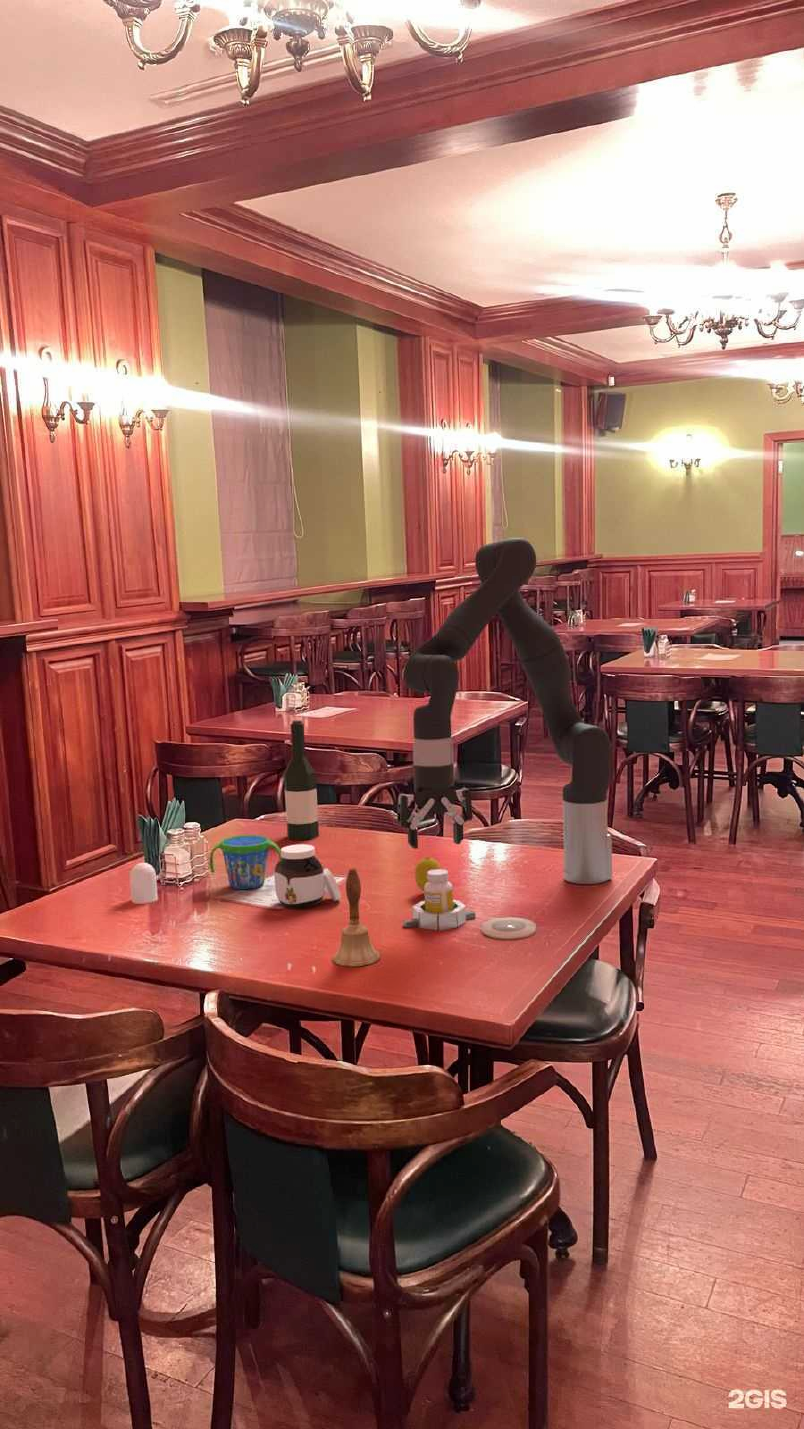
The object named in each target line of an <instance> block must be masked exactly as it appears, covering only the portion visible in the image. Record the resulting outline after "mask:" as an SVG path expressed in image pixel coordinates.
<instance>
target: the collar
mask: <svg viewBox="0 0 804 1429" xmlns="http://www.w3.org/2000/svg"><path fill="white" fill-rule="evenodd" d="M466 908H467V907H466V905H465V904H464V903H463V902H462V901H460V900H457V899H453V911H446V912H439V913H437V912H429V911H425V900H422V901H421V900H420V901H419V902H418V903H416V904H414V905H413V906H412V915H413V916H412V918H410V919H409V918H408V919H404V920H402V921H403V927H405V929H407V928H409V929H410V928H415V927H418V928H419V929H425V930H433V931H444V930H449V929H456V928H459V927H461V926H462V925H463V924H465V923H466V922H467V920H470V919H471V920H472V919H476V912H475V911H474V910H468V911H467V910H466Z"/></svg>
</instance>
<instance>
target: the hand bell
mask: <svg viewBox="0 0 804 1429" xmlns="http://www.w3.org/2000/svg"><path fill="white" fill-rule="evenodd" d="M345 881H346V882H345V893H346V898H347V900H348V904H349V924H348V925H347V926H345V927H344V928H342V931H341V941H340V946H339V948H338V949H337V952H335V953H334V955H333V957H332V962H333V963H335V965H338V966H342V967H350V968H351V967H363V966H368V965H371V964H374V963H376V962H378V961H379V960H380V958H381V955H380V953H379V951H378V950H376V949H375V948H374V946H373V945H372V942H371V939H370V936H369V930H368V927H366V926H365V925H363V924H361V923H360V911H359V904H360V900H361V892H362V887H361V884H362V883H361V880H360V877H359V875H358V871H357V869H356V868H349V870H348V874H347V877H346V880H345Z"/></svg>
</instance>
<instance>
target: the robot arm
mask: <svg viewBox="0 0 804 1429" xmlns="http://www.w3.org/2000/svg"><path fill="white" fill-rule="evenodd" d="M474 559H475V560H474V563H475V564H474V565H475V569H476V573H477V576H478V579H479V580H480V583H481V585H480V586H479V587H478V588H477V589H476V590H475V591H473V592H472V593H471V594H469V595H468V596H467V597H466V598H464V600H462V601H461V602H460V603H459V604H457V606H455V608H454V609H453V610H452V611H451V612H450V613H449V614H448V616H447V617H446V619H445V620H444V621H443V623H442V625H441V626H440V627H439V629H438V630H437V632H436V633H435V634H434V635H433V636H431V637H430V638H429V639H427V640H426V641H424V643H423V644H421V645H420V646H419V647H418V648H417V649H415V650H414V652H412V653H411V654H410V656H409V657H408V659H407V660H406V662H405V664H404V667H403V671H402V676H403V677H402V679H403V682H404V684H405V686H406V687H407V688H408V689H410V690H411V691H414V692H416V693H417V692H418V693H430V697H429V699H428V700H429V701H428V702H427V704H423V705H419V706H417V707H416V708H415V709H414V710H413V711H414V712H413V719H412V720H413V747H412V759H413V764H412V765H413V786H414V788H413V792H412V794H404V793H399V794H398V795H397V811H396V812H397V813H396V814H397V815H396V822H397V824H398V825H399V826H400V827H402V828H406V829H407V844H408V845H409V846H410V847H411V848H412V849H413V850H416V849H417V850H418V849H419V835H418V833H419V832H418V829H417V827H418V825H419V824H420V823H421V821H422V820H424V818H425V817H426V815H427V816H434V815H445V814H447V815H449V816H450V818H451V819H452V820H453V821H454V822H453V823H452V833H453V836H452V837H453V843H454V844H456V845H461V843H462V841H464V824H465V823H466V822H468V821H472V820H473V818H474V817H473V805H472V794H471V792H472V791H471V790H470V789H468V788H466V787H461V788H460V789H456V790H455V771H454V769H455V768H454V766H455V765H454V759H455V755H454V745H453V740H452V718H451V717H452V712H453V707H454V705H455V699H456V696H457V691H458V686H459V682H460V672H459V668H458V666H457V663H456V662H457V661H460V660H463V659H464V658H465V656H467V654H469V651H470V650H471V649H472V647H473V645H475V644H476V641H477V640H478V638H479V637H480V635H481V634H482V633H483V631H484V630H485V628H486V627H487V625H488V624H489V623H490V622H491V620H492V619H493V618H494V617H495V615H496V614H498V615H499V617H500V619H501V621H502V623H503V626H504V628H505V630H506V632H507V634H508V636H509V638H510V640H511V643H512V645H513V646H514V647H513V648H514V650H515V652H516V655H517V657H518V660H519V663H520V664H521V667H522V669H523V671H524V673H525V675H526V678H527V679H528V682H529V684H530V686H531V689H532V690H533V694H534V695H535V698H536V699H537V702H538V705H539V707H540V708H541V711H542V712H543V713H542V714H543V717H544V720H545V722H546V726H547V728H548V732H549V735H550V738H551V742H552V745H553V747H554V748H553V749H554V750H555V752H556V755H557V757H559V759H560V760H561V761H563V762H564V763H565V764H567V765H569V766H571V780H570V782H569V783H567V784H565V785H564V786H563V788H562V820H563V821H562V823H563V824H562V825H563V827H562V828H563V831H562V832H563V872H564V880H566V882H569V883H572V884H579V885H596V884H600V883H604V882H607V881H608V880H613V849H612V848H613V846H612V844H613V843H612V841H613V840H612V838H613V837H612V834H609V833H608V801H607V800H608V799H607V798H608V791H609V788H610V785H611V780H612V778H611V776H612V775H611V774H612V744H611V739H610V737H609V734H608V733H607V732H606V730H604V729H603V728H602V727H600V726H596V725H593V724H588V723H585V722H584V720H583V718H582V717H581V716H580V714H579V711H578V709H577V707H576V705H575V702H574V699H573V695H572V692H571V691H572V690H571V685H572V684H571V680H572V679H571V678H572V677H571V665H570V662H569V658H568V655H567V653H566V650H565V648H564V646H563V643H562V641H561V639H560V637H559V635H558V633H557V632H556V630H555V629H554V628H553V627H552V626H551V625H550V624H549V623H548V622H547V621H546V620H545V619H543V618H542V617H541V615H539V614H538V613H537V612H536V611H534V610H533V608H531V607H530V605H529V604H528V603H527V602H526V600H525V599H524V598H523V597H524V596H522V593H521V592H520V589H521V588H522V587H523V586H525V584H526V583H527V582H528V581H529V580H530V578H532V576H533V574H534V573H535V570H536V568H537V555H536V552H535V549H534V546H533V545H532V544H531V543H530V542H529V541H528V540H527V539H525V538H523V537H522V538H521V537H509V538H507V539H506V538H505V539H502V540H497V541H494V542H490V543H486V544H484V545H482V546H481V547H480V548H478V550H477V552H476V554H475V558H474ZM457 797H458V798H457ZM456 798H457V799H458V800H459V801H460V802H461V814H460V813H459V812H458V811H457V809H456V808H455V806H453V803H454V802H455V799H456ZM412 802H413V803H414V804H415V805H416V806H415V808H413V811H412V812H411V815H410V817H409V818H408V807H410V805H411V803H412Z"/></svg>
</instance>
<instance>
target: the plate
mask: <svg viewBox="0 0 804 1429" xmlns="http://www.w3.org/2000/svg"><path fill="white" fill-rule="evenodd" d="M536 931H537V925H536V923H535V922H534V921H532V920H530V919H527V918H521V917H497V918H492V919H488V920H486V921H485V922H482V924H481V932H482V934H484V935H485V936H487V937H490V938H493V939H501V940H516V939H523V938H527V937H530V936H532V935H534V934H535V933H536Z"/></svg>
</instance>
